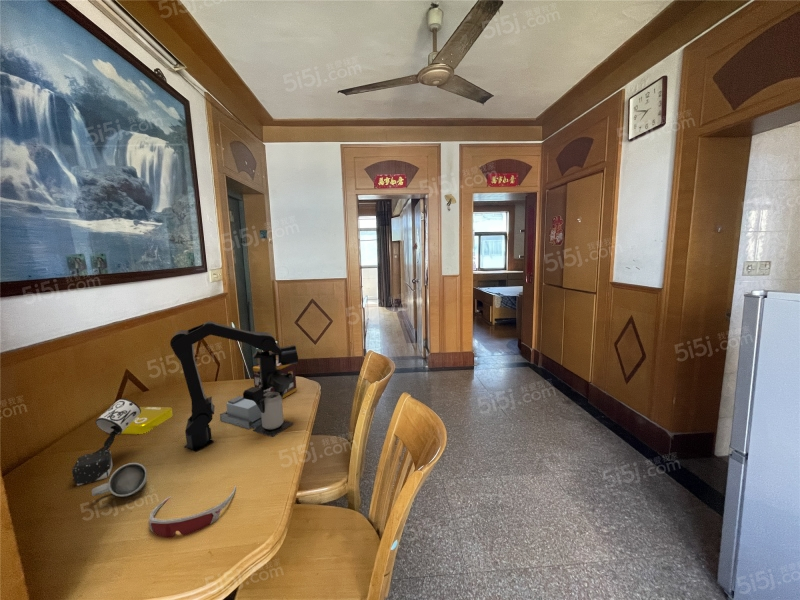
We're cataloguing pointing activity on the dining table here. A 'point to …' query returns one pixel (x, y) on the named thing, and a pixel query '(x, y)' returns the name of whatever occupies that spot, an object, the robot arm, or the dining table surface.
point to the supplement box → (283, 369)
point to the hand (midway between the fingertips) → (271, 408)
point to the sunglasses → (185, 520)
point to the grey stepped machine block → (243, 409)
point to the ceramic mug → (124, 481)
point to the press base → (254, 424)
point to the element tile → (148, 419)
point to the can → (272, 411)
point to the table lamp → (101, 460)
